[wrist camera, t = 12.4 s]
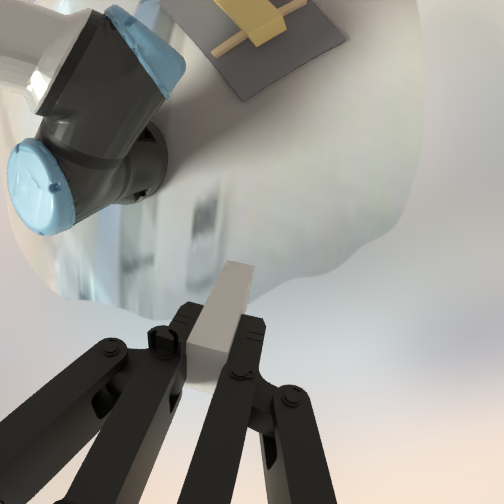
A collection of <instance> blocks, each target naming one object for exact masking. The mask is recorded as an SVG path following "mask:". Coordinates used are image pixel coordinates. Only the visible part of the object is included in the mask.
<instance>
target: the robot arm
mask: <svg viewBox="0 0 504 504" xmlns="http://www.w3.org/2000/svg"><path fill="white" fill-rule="evenodd" d="M185 70H186V63H185V60H184V58H183V57H182V56H181V55H180V54H179V53H178V52H177V51H176V50H175V49H174V48H172V47H171V46H170V45H169V44H168V43H166V42H165V41H164V40H163V39H162V38H160V37H159V36H158V35H157V34H155V33H154V32H153V31H151V30H150V29H149V28H148V27H146V26H145V25H144V24H142V23H141V22H140V21H138V20H137V19H136V18H134V17H133V16H132V15H130V14H129V13H128V12H126V11H125V10H124V9H122V8H121V7H119V6H118V5H112V6H110V7H109V8H107V9H106V10H105V11H104V14H101V13H99V12H97V11H95V10H92V9H90V8H87V9H84V10H81V11H79V12H76V13H73V14H70V15H64V14H61V13H58V12H56V11H53V10H50V9H47V8H44V7H41V6H38V5H35V4H32V3H29V2H25V1H22V0H0V89H3V90H7V91H11V92H15V93H19V94H23V95H24V97H25V98H26V100H27V103H28V105H29V108H30V110H31V113H33V114H36V115H40V116H43V120H42V122H41V124H40V127H39V129H38V131H37V134H36V136H35V137H34V138H26V139H24V140H23V141H22V142H21V143H19V144H17V145H16V146H15V147H14V149H13V150H12V152H11V154H10V157H9V161H8V166H7V184H8V190H9V194H10V197H11V200H12V203H13V206H14V208H15V210H16V212H17V214H18V215H19V217H20V218H21V220H22V221H23V222H24V224H25V225H26V226H27V227H28V228H29V229H30V230H32V231H33V232H35V233H37V234H39V235H42V236H45V235H46V236H52V235H55V234H58V233H60V232H63V231H66V230H68V229H70V228H71V227H72V226H73V225H75V224H77V223H78V222H80V221H82V220H83V219H85V218H87V217H89V216H90V215H92V214H94V213H96V212H98V211H99V210H101V209H103V208H105V207H107V206H109V205H110V204H122V205H128V204H134V203H137V202H139V201H141V200H143V199H145V198H147V197H149V196H150V195H151V194H153V193H154V192H155V191H156V190H157V189H158V187H159V186H160V184H161V183H162V181H163V179H164V176H165V173H166V169H167V162H168V155H167V148H166V144H165V141H164V138H163V136H162V134H161V133H160V131H159V130H158V128H157V127H156V126H155V125H154V124H153V123H152V122H150V120H151V119H152V117H153V116H154V114H155V113H156V112H157V110H158V109H159V108H160V106H161V105H162V104H163V102H164V101H165V100H168V98H169V97H170V95H169V94H170V93H171V91H172V90H173V88H174V87H175V86H176V84H177V83H178V81H179V80H180V79H181V78H182V76H183V75H184V73H185ZM254 268H255V266H251V265H247V264H242V263H238V262H233V261H229V260H227V262H226V264H225V266H224V268H223V270H222V272H221V274H220V276H219V278H218V280H217V282H216V284H215V285H214V287H213V289H212V291H211V293H210V295H209V297H208V299H207V301H206V303H205V305H200V304H196V303H193V302H189V301H188V302H187V303H185V304H184V305H182V306H180V308H179V310H178V311H177V313H176V315H175V316H174V318H173V320H172V321H171V323H170V324H169V326H165V325H162V326H156V327H154V328H151V330H149V331H148V332H147V333H148V345H149V348H147V349H130V348H127V346H126V344H125V343H124V342H123V341H122V340H120V339H118V338H105V339H103V340H101V341H99V342H98V343H97V344H95V345H94V346H93V347H92V348H90V349H89V350H88V351H87V352H85V353H84V354H83V355H82V356H80V357H79V358H78V359H76V360H75V361H74V362H73V363H72V364H70V365H69V366H68V367H67V368H65V369H64V370H63V371H62V372H60V373H59V374H58V375H57V376H55V377H54V378H53V379H52V380H50V381H49V382H48V383H47V384H45V385H44V386H43V387H42V388H41V389H40V390H39V391H37V392H36V393H35V394H33V395H32V396H31V397H30V398H29V399H27V400H26V401H25V402H24V403H22V404H21V405H20V406H19V407H18V408H16V409H15V410H14V411H13V412H12V413H10V414H9V415H8V416H7V417H6V418H5V419H3V420H2V421H1V422H0V504H26V503H27V502H28V501H30V500H31V499H32V498H33V497H34V496H35V494H37V493H38V492H39V491H40V490H41V489H42V488H43V487H44V486H45V485H46V484H47V483H48V482H49V481H50V480H51V479H52V478H53V477H54V476H55V475H56V474H57V473H58V472H59V471H60V470H61V469H62V468H63V467H64V466H65V465H66V464H67V463H68V462H69V461H70V460H71V459H72V458H73V457H74V456H75V455H76V454H77V453H78V452H79V451H80V450H81V449H82V448H83V447H84V446H85V445H86V444H87V443H88V442H89V441H90V440H91V439H92V438H93V437H94V436H95V435H96V434H97V433H98V432H99V431H100V432H99V434H98V436H97V437H96V439H95V441H94V443H93V445H92V447H91V448H90V450H89V452H88V454H87V456H86V458H85V460H84V461H83V463H82V465H81V467H80V469H79V471H78V473H77V474H76V476H75V478H74V480H73V482H72V484H71V486H70V488H69V490H68V492H67V494H66V495H65V497H64V498H63V499H62V500H59V501H56V502H55V503H53V504H138V503H139V501H140V498H141V496H142V493H143V491H144V488H145V486H146V483H147V481H148V478H149V476H150V473H151V471H152V468H153V466H154V463H155V461H156V458H157V456H158V453H159V451H160V448H161V446H162V443H163V441H164V439H165V436H166V434H167V431H168V429H169V426H170V424H171V421H172V419H173V416H174V414H175V412H176V409H177V407H178V404H179V402H180V399H181V397H182V387H183V385H184V383H185V381H186V387H188V388H191V389H195V390H198V391H202V392H206V393H209V394H213V398H212V400H211V403H210V406H209V409H208V412H207V415H206V418H205V421H204V424H203V428H202V431H201V433H200V436H199V440H198V442H197V446H196V448H195V451H194V454H193V457H192V461H191V463H190V466H189V469H188V473H187V476H186V478H185V481H184V484H183V487H182V490H181V493H180V496H179V499H178V502H177V504H230V503H231V499H232V494H233V490H234V486H235V482H236V477H237V473H238V468H239V464H240V459H241V455H242V450H243V446H244V441H245V436H246V431H247V427H249V428H251V429H253V430H255V431H257V432H259V436H260V444H261V452H262V461H263V468H264V476H265V483H266V491H267V499H268V504H337V501H336V497H335V493H334V489H333V485H332V481H331V477H330V473H329V469H328V466H327V462H326V458H325V454H324V450H323V447H322V443H321V439H320V435H319V431H318V427H317V424H316V420H315V416H314V412H313V409H312V405H311V401H310V398H309V396H308V394H307V392H305V391H304V390H303V389H302V388H300V387H298V386H296V385H283V386H281V387H279V388H278V387H276V386H274V385H272V384H270V383H269V382H267V381H266V380H265V379H263V378H262V376H261V374H260V372H259V362H260V357H261V352H262V346H263V341H264V335H265V330H266V325H265V323H264V321H263V318H258V317H254V316H249V315H245V312H246V308H247V304H248V299H249V294H250V288H251V283H252V278H253V273H254Z"/></svg>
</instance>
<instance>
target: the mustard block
mask: <svg viewBox="0 0 504 504" xmlns="http://www.w3.org/2000/svg"><path fill="white" fill-rule="evenodd" d="M213 1H214V2H215V3H216V4H217V5H218V6H219V7H220V8H221V9H222V10H223V11H224V12H225V13H226V14H227V15H228V16H229V17H230V18H231V19H232V20H233V21H234V22H235V24H236V25H237V26H238V27H239V28H240V29H241V30H242V31H243V32H244V33H245V35H246V36H247V37H248V38H249V39H250V40H251V41H252V43H253V44H254V45H255V46H256V47H258V46H260V45H261V44H263V43H265V42H266V41H268V40H270V39H271V38H273V37H275V36H276V35H278V34H280V33H282V32H283V31H285V30H287V28H286V25H285V22H284V19H283V15H282V14H281V13H280V12H279V11H278V10H277V9H276V8H275V7H274V6H273V5H272V4H271V3H270V2H269V1H268V0H213Z"/></svg>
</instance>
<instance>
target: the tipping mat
mask: <svg viewBox="0 0 504 504" xmlns="http://www.w3.org/2000/svg"><path fill="white" fill-rule="evenodd" d="M268 1H269V2H270V3H271V4H272V5H273V6H274V7H275V8H276V9H277V10H278V11H279V12H280V13H281V14H282V15H283V19H284V22H285V25H286V28H287V30H285V31H283V32H282V33H280V34H278V35H276V36H275V37H273V38H271V39H270V40H268V41H266V42H265V43H263V44H261V45H260V46H258V47H256V46H255V45H254V44H253V43H252V41H251V40H250V39H249V38H248V37H247V36H246V35H245V33H244V32H243V31H242V30H241V29H240V28H239V27H238V26H237V25H236V24H235V22H234V21H233V20H232V19H231V18H230V17H229V16H228V15H227V14H226V13H225V12H224V11H223V10H222V9H221V8H220V7H219V6H218V5H217V4H216V3H215V2H214V1H213V0H160V1H159V2H158V4H159V5H160V6H161V7H162V8H163V9H164V10H165V11H166V12H167V13H168V14H169V15H170V16H171V17H172V18H173V19H174V20H175V22H176V23H177V24H178V25H179V26H180V27H181V28H182V29H183V30H184V31H185V33H186V34H187V35H188V36H189V37H190V38H191V39H192V40H193V42H194V43H195V44H196V45H197V46H198V47H199V49H200V50H201V51H202V52H203V53H204V54H205V56H206V57H207V58H208V59H209V60H210V62H211V63H212V64H213V65H214V66H215V68H216V69H217V70H218V71H219V72H220V74H221V75H222V76H223V77H224V79H225V80H226V81H227V82H228V84H229V85H230V86H231V87H232V89H233V90H234V91H235V92H236V94H237V95H238V96H239V98H240V99H241V100H242V102H244V101H246V100H247V99H249V98H250V97H252V96H253V95H255V94H256V93H258V92H259V91H261V90H262V89H264V88H265V87H267V86H268V85H270V84H271V83H273V82H274V81H276V80H278V79H279V78H281V77H282V76H284V75H286V74H287V73H289V72H291V71H292V70H294V69H296V68H297V67H299V66H301V65H302V64H304V63H306V62H307V61H309V60H311V59H313V58H315V57H316V56H318V55H320V54H322V53H324V52H325V51H327V50H329V49H331V48H333V47H335V46H337V45H339V44H341V43H343V42H345V38H344V37H343V36H342V35H341V33H340V32H339V31H338V30H337V29H336V27H335V26H334V25H333V24H332V23H331V22H330V20H329V19H328V18H327V17H326V16H325V15H324V14H323V13H322V11H321V10H320V9H319V8H318V7H317V6H316V5H315V4H314V3H313V2H312V1H311V0H268Z"/></svg>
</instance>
